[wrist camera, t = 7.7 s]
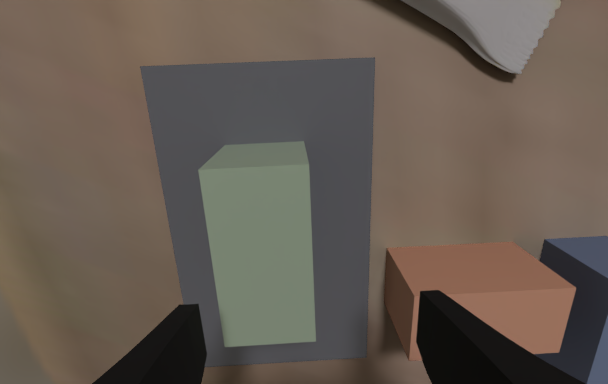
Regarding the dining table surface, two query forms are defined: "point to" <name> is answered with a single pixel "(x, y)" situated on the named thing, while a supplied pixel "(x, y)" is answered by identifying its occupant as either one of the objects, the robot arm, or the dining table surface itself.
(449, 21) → the food package
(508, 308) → the terracotta brick
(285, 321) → the green brick
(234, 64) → the tray
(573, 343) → the navy brick
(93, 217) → the dining table surface
